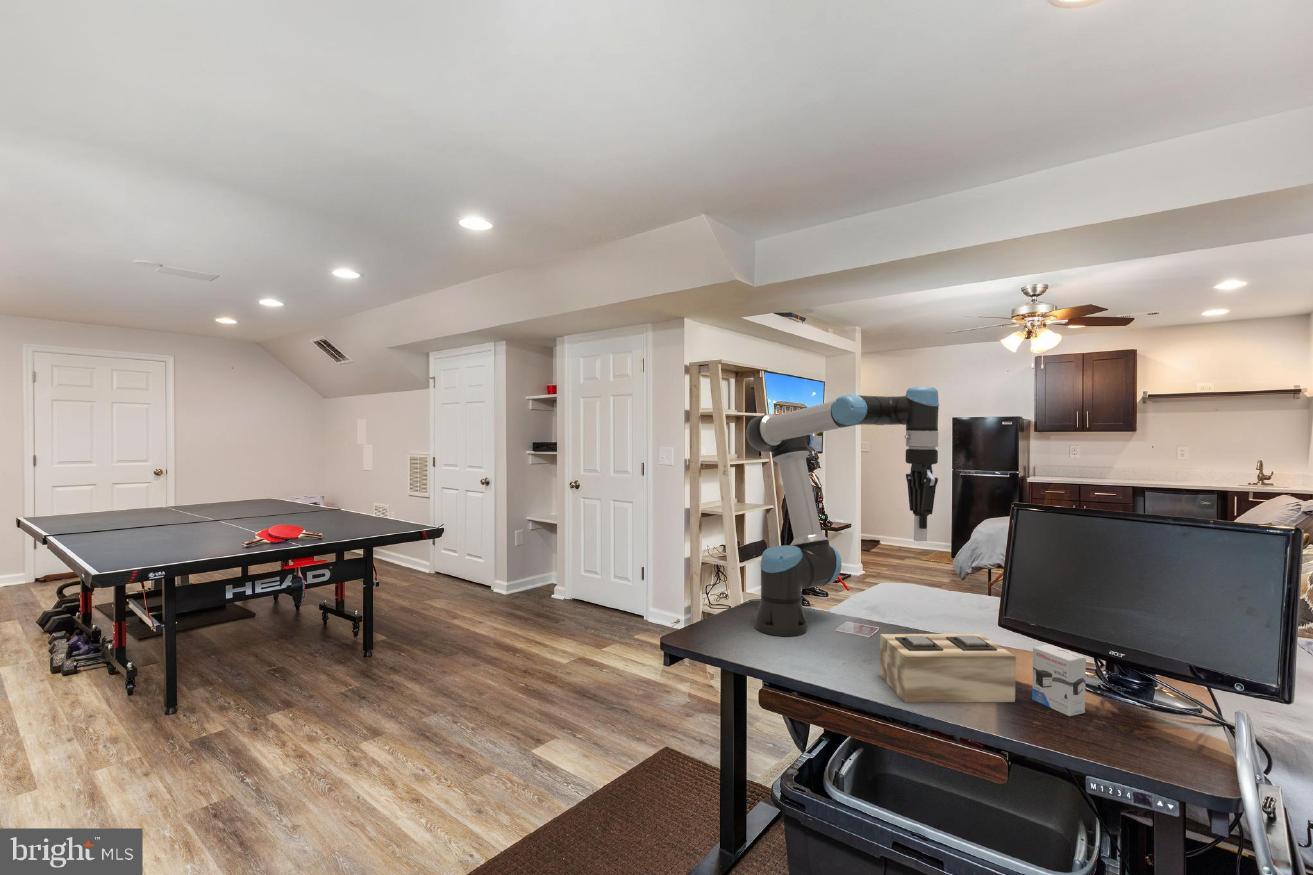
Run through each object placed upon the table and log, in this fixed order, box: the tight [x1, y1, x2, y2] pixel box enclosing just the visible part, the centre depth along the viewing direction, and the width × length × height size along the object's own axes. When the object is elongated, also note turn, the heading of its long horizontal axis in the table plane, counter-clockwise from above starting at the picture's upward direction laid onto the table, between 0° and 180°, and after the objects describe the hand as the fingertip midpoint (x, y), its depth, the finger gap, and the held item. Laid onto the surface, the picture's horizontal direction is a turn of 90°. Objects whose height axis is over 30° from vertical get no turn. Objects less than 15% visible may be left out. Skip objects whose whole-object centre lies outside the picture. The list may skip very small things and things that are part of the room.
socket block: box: [879, 633, 1017, 704], centre depth 137 cm, size 14×24×10 cm, turn 91°
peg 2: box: [956, 636, 986, 647], centre depth 137 cm, size 4×4×9 cm
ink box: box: [1031, 644, 1087, 717], centre depth 129 cm, size 8×5×12 cm, turn 21°
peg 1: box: [905, 636, 933, 647], centre depth 137 cm, size 4×4×9 cm
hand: (920, 540), depth 154 cm, fingers closed
